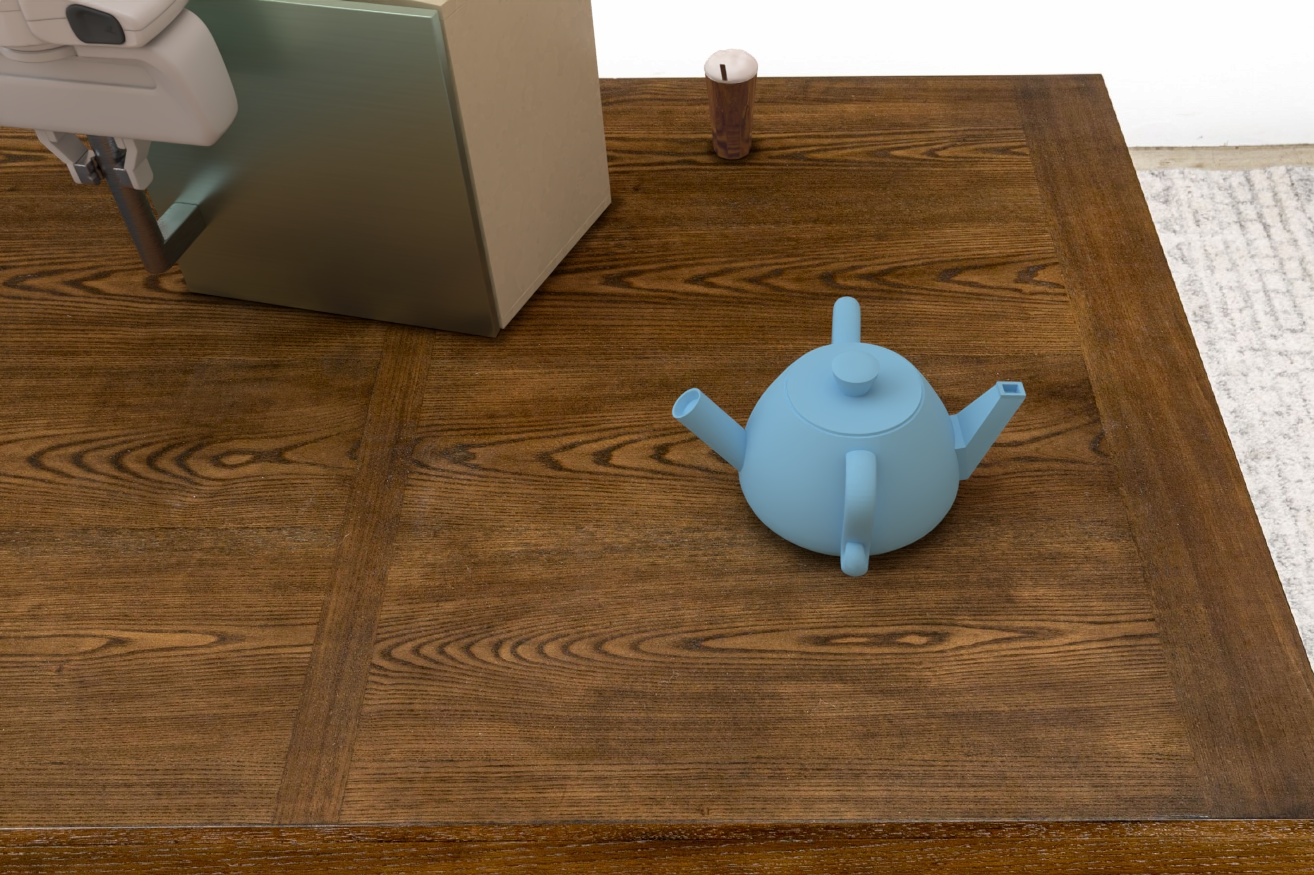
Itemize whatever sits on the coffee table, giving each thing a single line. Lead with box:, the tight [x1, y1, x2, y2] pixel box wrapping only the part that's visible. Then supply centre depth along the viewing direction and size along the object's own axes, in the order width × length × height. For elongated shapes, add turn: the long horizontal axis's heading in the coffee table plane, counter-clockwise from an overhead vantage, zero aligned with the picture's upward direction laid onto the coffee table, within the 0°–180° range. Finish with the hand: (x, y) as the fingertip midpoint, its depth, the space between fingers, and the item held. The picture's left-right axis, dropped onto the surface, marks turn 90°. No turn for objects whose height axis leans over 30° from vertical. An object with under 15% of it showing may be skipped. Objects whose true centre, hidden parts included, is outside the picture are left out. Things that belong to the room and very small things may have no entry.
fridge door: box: [85, 0, 501, 338], centre depth 87 cm, size 7×26×26 cm, turn 76°
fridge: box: [343, 0, 612, 330], centre depth 97 cm, size 18×26×26 cm
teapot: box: [671, 296, 1027, 578], centre depth 81 cm, size 15×17×11 cm
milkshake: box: [703, 48, 759, 160], centre depth 109 cm, size 4×5×10 cm
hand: (116, 182), depth 86 cm, fingers closed on fridge door, 2 cm apart
